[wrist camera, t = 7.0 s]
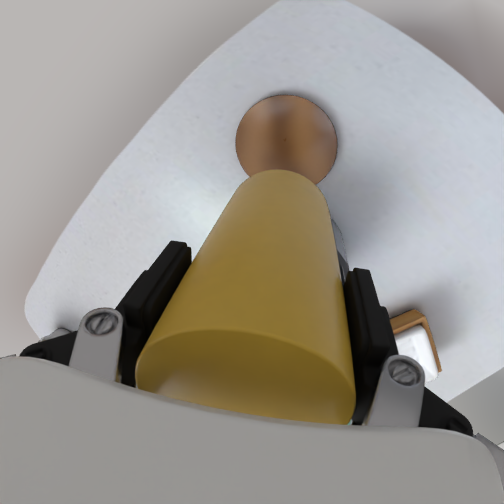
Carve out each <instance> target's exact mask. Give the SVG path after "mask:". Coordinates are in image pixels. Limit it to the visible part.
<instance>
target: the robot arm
mask: <svg viewBox="0 0 504 504" xmlns="http://www.w3.org/2000/svg"><path fill="white" fill-rule="evenodd" d="M191 263H192V260H191V247H187V244H186V243H185V242H178V241H170V242H169V244H168V245H167V246H166V248H165V249H164V250H163V251H162V253H161V254H160V255H159V257H158V258H157V259H156V260H155V262H154V263H153V264H152V266H151V267H150V268H149V270H145V271H144V272H143V273H142V274H141V275H140V276H139V278H138V279H137V280H136V282H135V283H134V284H133V285H132V287H131V288H130V289H129V291H128V292H127V293H126V295H125V296H124V297H123V299H122V300H121V301H120V303H119V304H118V306H117V307H116V308H115V309H112V308H97V309H94V310H92V311H90V312H88V313H87V314H86V315H85V316H84V317H83V318H82V320H81V322H80V326H79V329H78V331H75V332H71V333H68V334H65V335H61V336H58V337H55V338H51V339H48V340H45V341H41V342H38V343H35V344H32V345H30V346H28V347H27V348H25V349H24V350H23V351H22V353H21V354H20V356H16V354H15V355H10V356H7V357H2V358H0V504H504V450H503V449H501V448H500V447H498V446H497V445H496V444H494V443H493V442H491V441H490V440H488V439H487V438H485V437H484V436H482V435H481V434H479V433H477V434H476V435H474V434H473V430H472V426H471V424H470V422H469V421H468V419H467V418H466V417H465V416H463V415H462V414H461V413H459V412H458V411H457V410H455V409H454V408H453V407H451V406H450V405H449V404H447V403H446V402H445V401H443V400H442V399H441V398H439V397H438V396H437V395H435V394H434V393H433V392H431V391H430V390H429V389H427V388H426V387H425V386H424V385H425V372H424V370H423V367H422V366H421V365H420V364H419V363H418V362H417V361H416V360H414V359H413V358H411V357H408V356H405V355H399V352H398V348H397V345H396V341H395V337H394V333H393V330H392V326H391V323H390V319H389V316H388V312H387V309H386V308H385V307H383V306H380V304H379V301H378V297H377V294H376V290H375V287H374V284H373V280H372V277H371V274H370V271H369V270H366V269H360V268H354V269H353V271H348V273H347V276H346V279H345V283H344V286H343V292H344V299H345V306H346V313H347V320H348V328H349V335H350V343H351V352H352V361H353V370H354V380H355V391H356V407H355V411H354V414H353V416H352V418H351V422H350V424H349V425H340V424H326V423H314V422H304V421H295V420H287V419H279V418H271V417H264V416H258V415H252V414H245V413H240V412H234V411H229V410H223V409H218V408H213V407H208V406H204V405H199V404H195V403H190V402H186V401H182V400H178V399H174V398H170V397H166V396H162V395H158V394H154V393H151V392H147V391H144V390H140V389H138V387H137V384H136V379H135V366H136V362H137V359H138V357H139V355H140V354H141V352H142V350H143V348H144V346H145V344H146V343H147V341H148V339H149V337H150V335H151V333H152V332H153V330H154V328H155V326H156V324H157V323H158V321H159V319H160V317H161V316H162V314H163V312H164V310H165V308H166V307H167V305H168V303H169V301H170V300H171V298H172V296H173V294H174V293H175V291H176V289H177V287H178V286H179V284H180V282H181V281H182V279H183V277H184V275H185V274H186V272H187V270H188V269H189V267H190V265H191Z"/></svg>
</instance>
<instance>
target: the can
mask: <svg viewBox="0 0 504 504" xmlns="http://www.w3.org/2000/svg"><path fill="white" fill-rule="evenodd" d="M135 379H136V384H137V387H138V389H140V390H144V391H147V392H151V393H154V394H158V395H162V396H166V397H170V398H174V399H178V400H182V401H186V402H190V403H195V404H199V405H204V406H208V407H213V408H218V409H223V410H229V411H234V412H240V413H245V414H252V415H258V416H264V417H271V418H279V419H287V420H295V421H304V422H314V423H326V424H340V425H347V424H348V423H349V422H350V420H351V418H352V416H353V414H354V411H355V407H356V391H355V380H354V370H353V361H352V352H351V343H350V335H349V328H348V320H347V313H346V306H345V299H344V292H343V286H342V280H341V274H340V268H339V262H338V256H337V250H336V245H335V239H334V234H333V229H332V224H331V219H330V214H329V209H328V205H327V202H326V200H325V198H324V196H323V194H322V193H321V191H320V190H319V189H318V187H317V186H316V185H315V184H314V183H312V182H311V181H310V180H309V179H307V178H306V177H304V176H302V175H300V174H298V173H295V172H292V171H287V170H268V171H263V172H260V173H257V174H255V175H253V176H251V177H250V178H248V179H247V180H245V181H244V182H243V183H242V184H241V185H240V186H239V187H238V188H237V190H236V191H235V193H234V194H233V196H232V198H231V199H230V201H229V202H228V204H227V206H226V207H225V209H224V210H223V212H222V214H221V215H220V217H219V219H218V220H217V222H216V223H215V225H214V227H213V228H212V230H211V232H210V233H209V235H208V237H207V238H206V240H205V242H204V243H203V245H202V247H201V248H200V250H199V252H198V253H197V255H196V257H195V258H194V260H193V262H192V263H191V265H190V267H189V269H188V270H187V272H186V274H185V275H184V277H183V279H182V281H181V282H180V284H179V286H178V287H177V289H176V291H175V293H174V294H173V296H172V298H171V300H170V301H169V303H168V305H167V307H166V308H165V310H164V312H163V314H162V316H161V317H160V319H159V321H158V323H157V324H156V326H155V328H154V330H153V332H152V333H151V335H150V337H149V339H148V341H147V343H146V344H145V346H144V348H143V350H142V352H141V354H140V355H139V357H138V359H137V362H136V366H135Z"/></svg>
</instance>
